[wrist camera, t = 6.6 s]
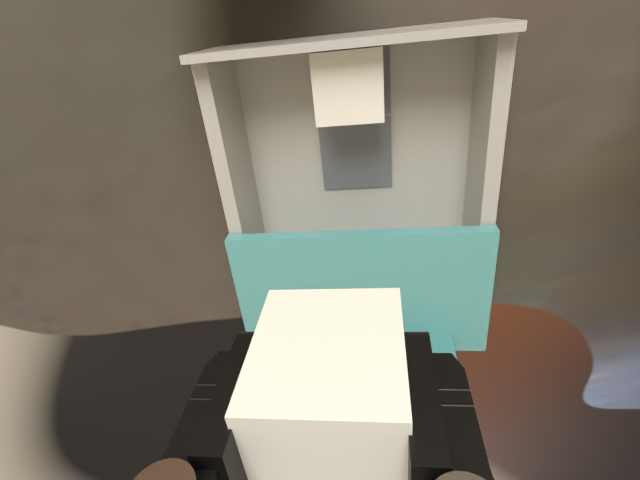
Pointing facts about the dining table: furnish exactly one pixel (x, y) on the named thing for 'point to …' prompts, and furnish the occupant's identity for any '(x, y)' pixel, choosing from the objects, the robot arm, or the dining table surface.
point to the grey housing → (360, 126)
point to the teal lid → (380, 274)
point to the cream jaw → (325, 388)
